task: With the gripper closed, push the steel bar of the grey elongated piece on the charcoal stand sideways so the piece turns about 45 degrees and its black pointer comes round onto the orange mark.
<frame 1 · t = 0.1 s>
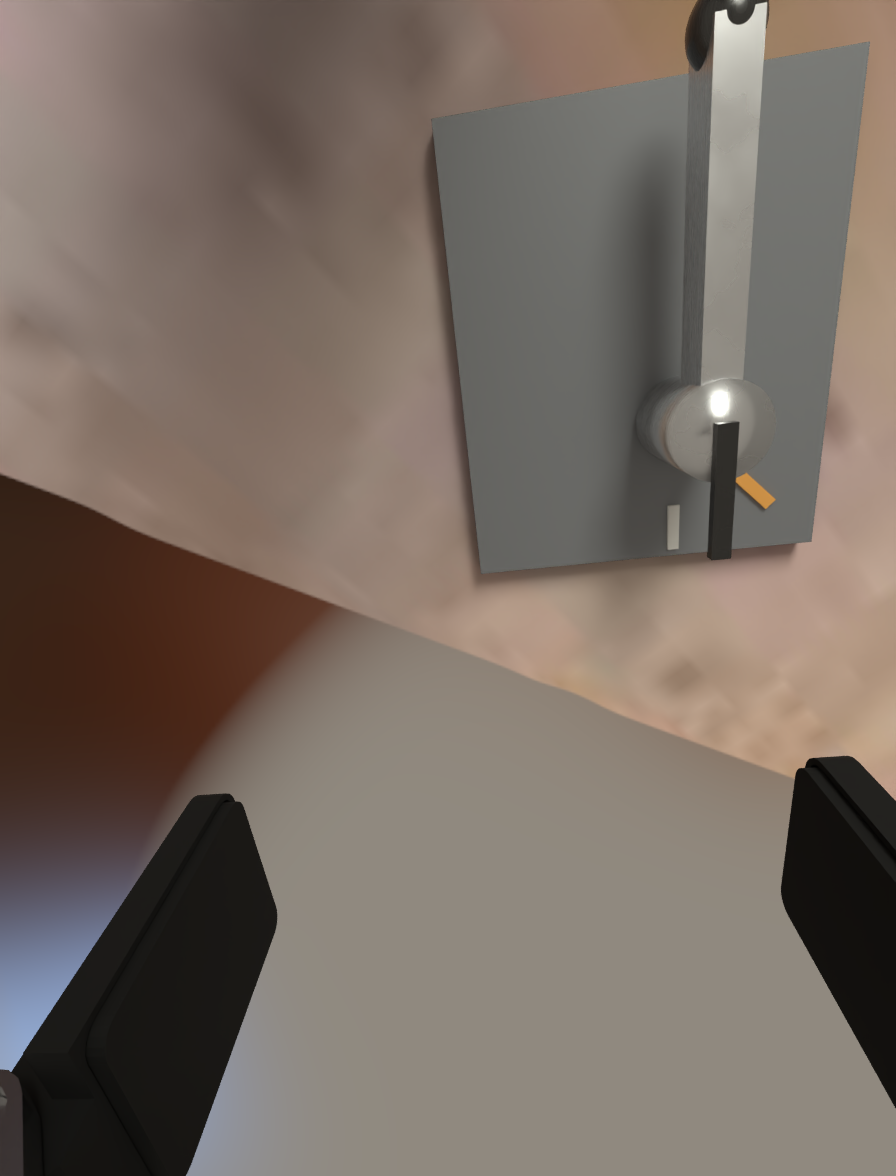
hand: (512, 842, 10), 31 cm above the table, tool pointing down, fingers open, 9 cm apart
grey elongated piece: (704, 309, 29), point 6 cm above the table, hinge at 0.0°
stand plate: (635, 353, 35), on the table
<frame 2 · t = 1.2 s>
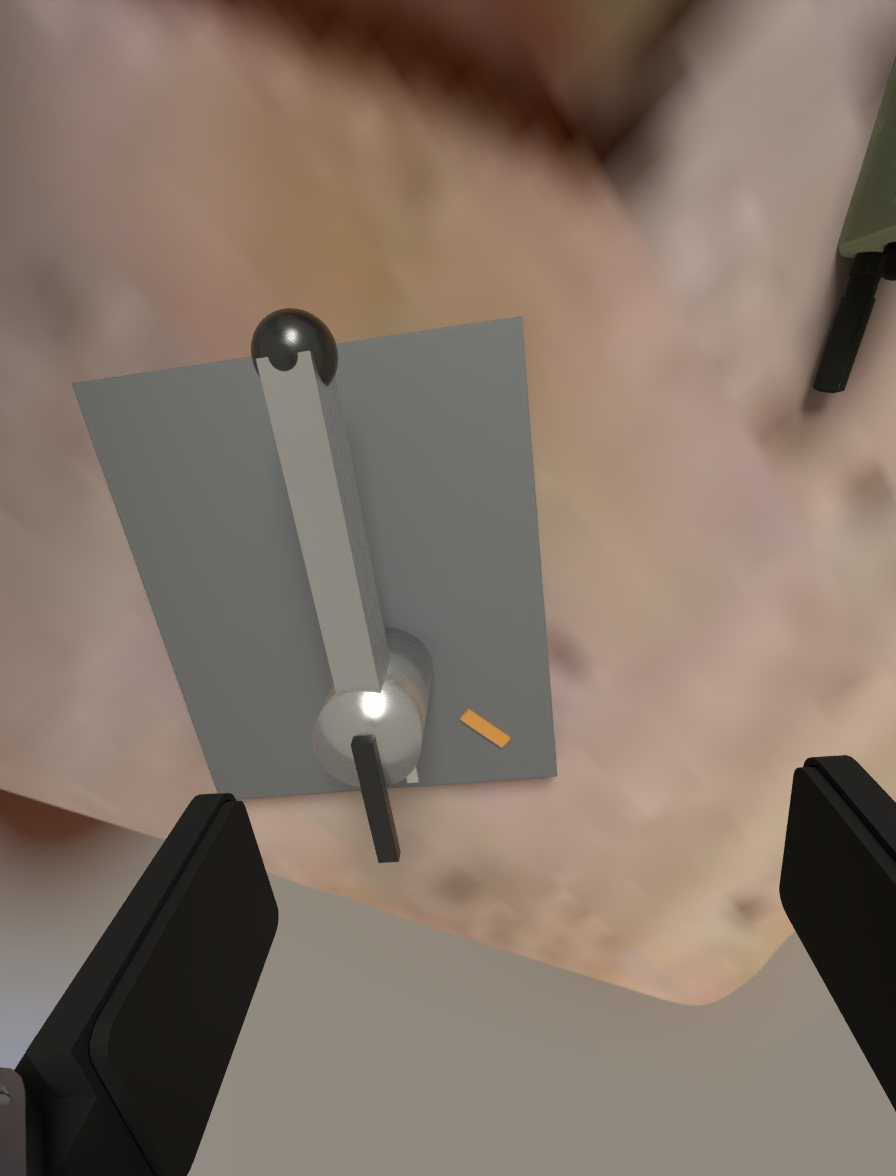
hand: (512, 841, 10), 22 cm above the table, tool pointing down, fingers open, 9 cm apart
grey elongated piece: (356, 600, 26), point 6 cm above the table, hinge at 0.0°
stand plate: (348, 592, 33), on the table
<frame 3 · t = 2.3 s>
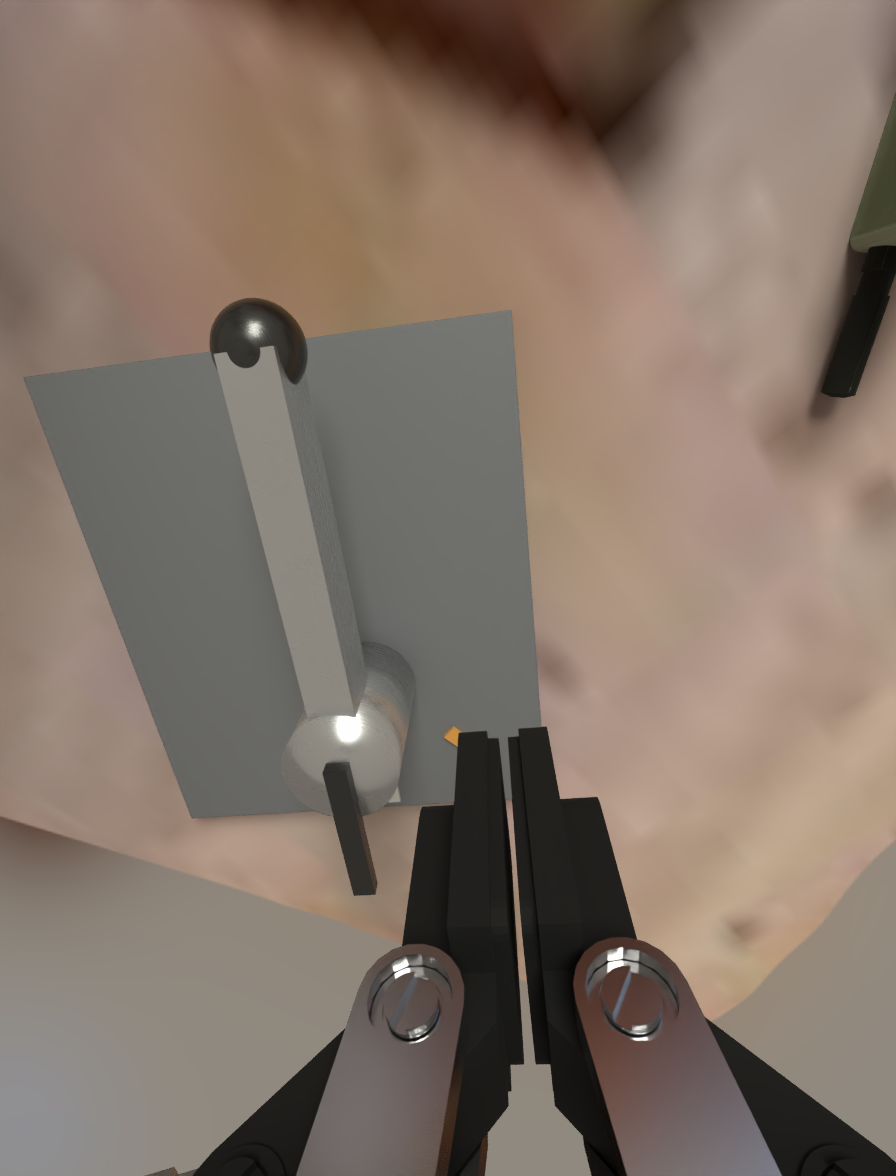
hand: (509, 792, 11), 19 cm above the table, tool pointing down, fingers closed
grey elongated piece: (330, 615, 24), point 6 cm above the table, hinge at 0.0°
stand plate: (326, 603, 31), on the table
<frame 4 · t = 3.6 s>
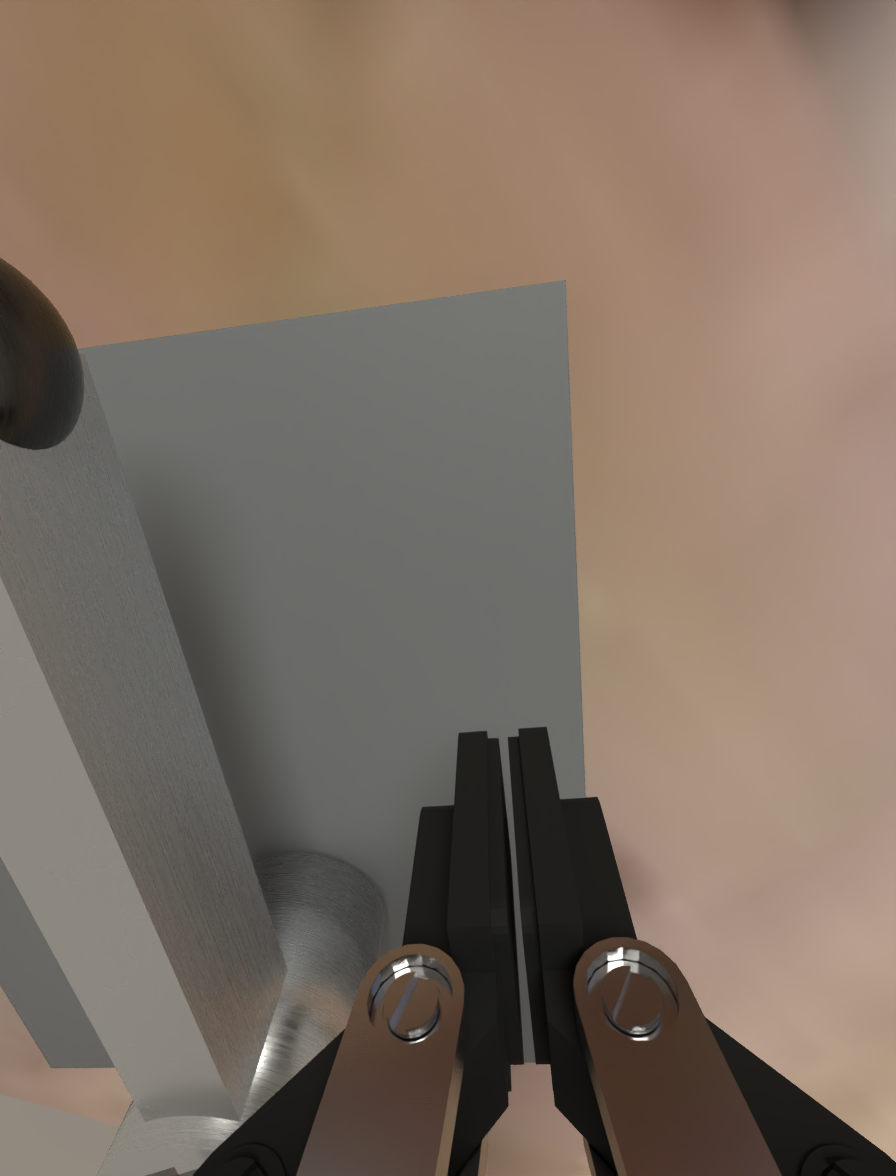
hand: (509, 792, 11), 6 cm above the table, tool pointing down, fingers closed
grey elongated piece: (204, 878, 12), point 6 cm above the table, hinge at 0.0°
stand plate: (241, 772, 19), on the table
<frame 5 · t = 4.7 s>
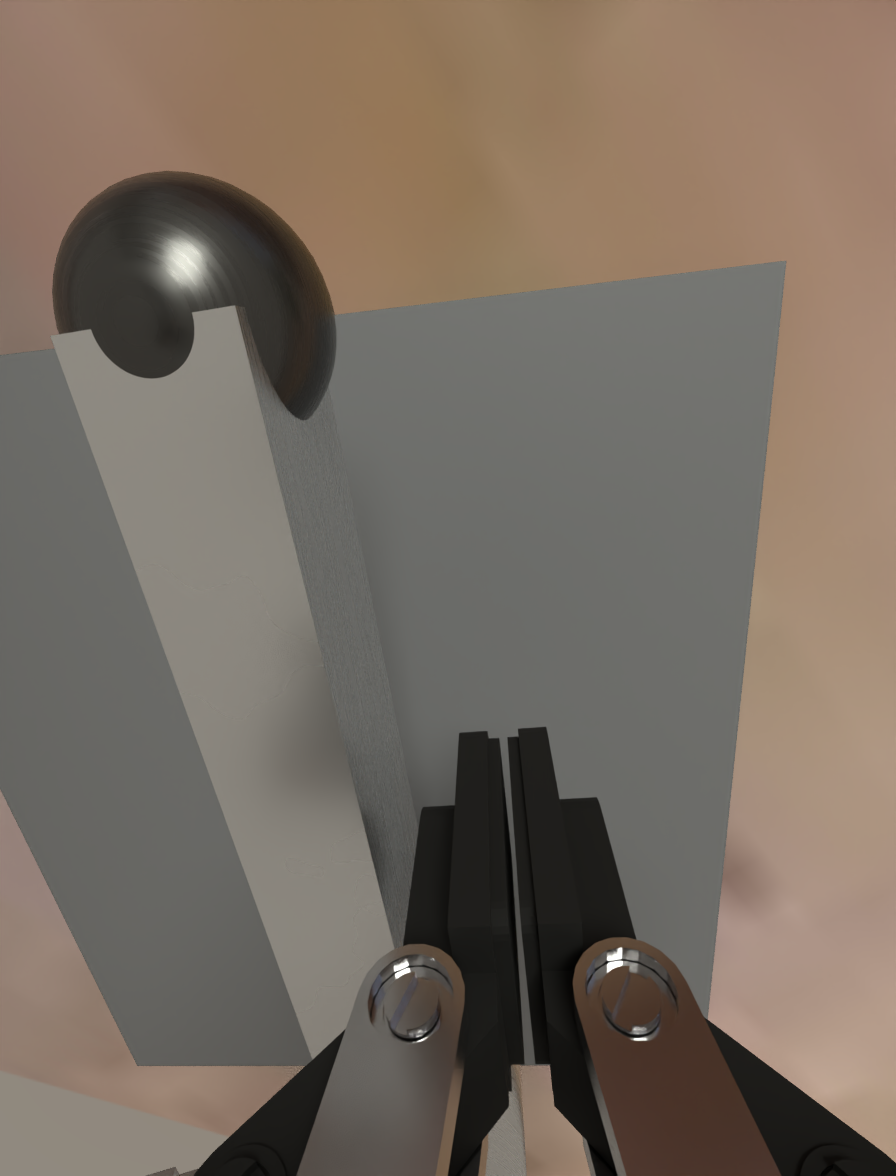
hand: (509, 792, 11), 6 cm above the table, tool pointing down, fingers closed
grey elongated piece: (377, 874, 12), point 6 cm above the table, hinge at 2.0°, touching gripper
stand plate: (361, 766, 18), on the table
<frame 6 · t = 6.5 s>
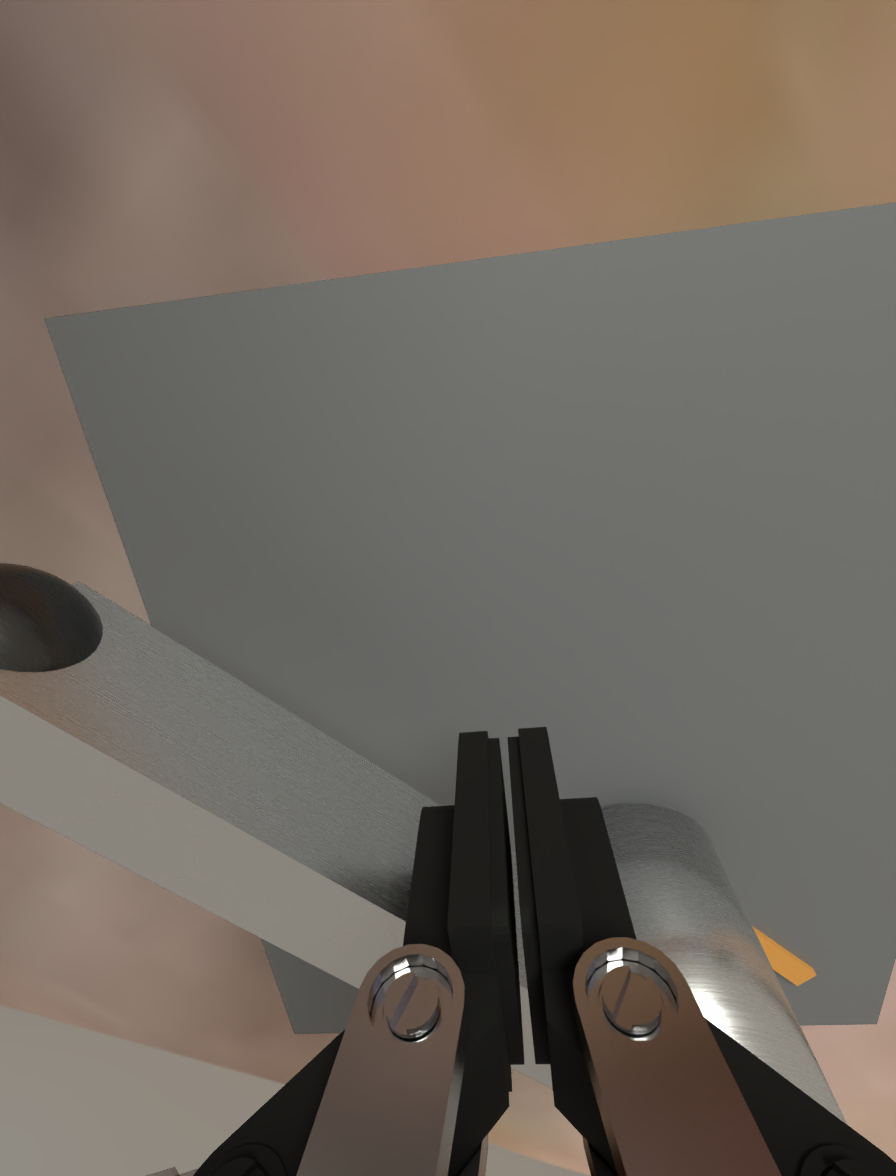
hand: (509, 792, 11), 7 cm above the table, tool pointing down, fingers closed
grey elongated piece: (488, 886, 13), point 6 cm above the table, hinge at 46.5°, touching gripper
stand plate: (553, 724, 18), on the table
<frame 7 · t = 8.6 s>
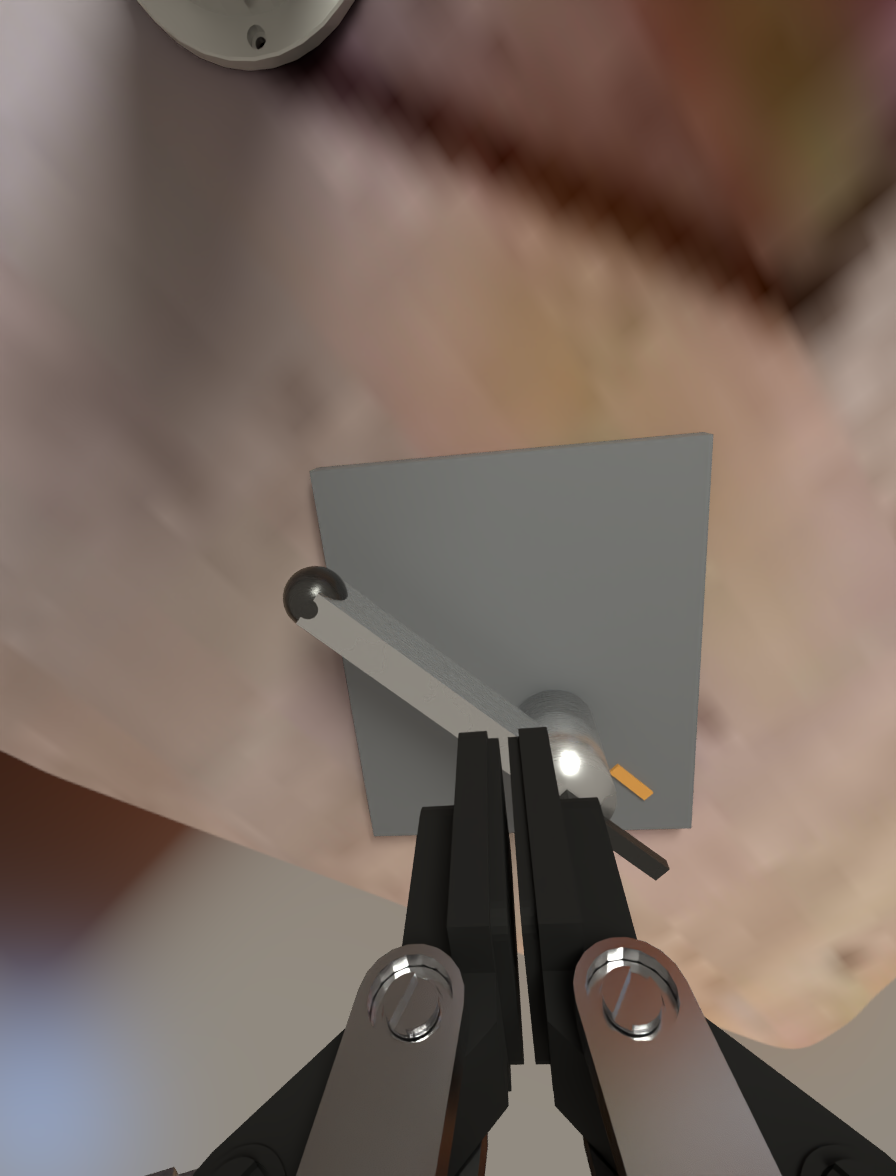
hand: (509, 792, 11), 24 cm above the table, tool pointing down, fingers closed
grey elongated piece: (481, 704, 31), point 6 cm above the table, hinge at 46.6°
stand plate: (516, 655, 36), on the table
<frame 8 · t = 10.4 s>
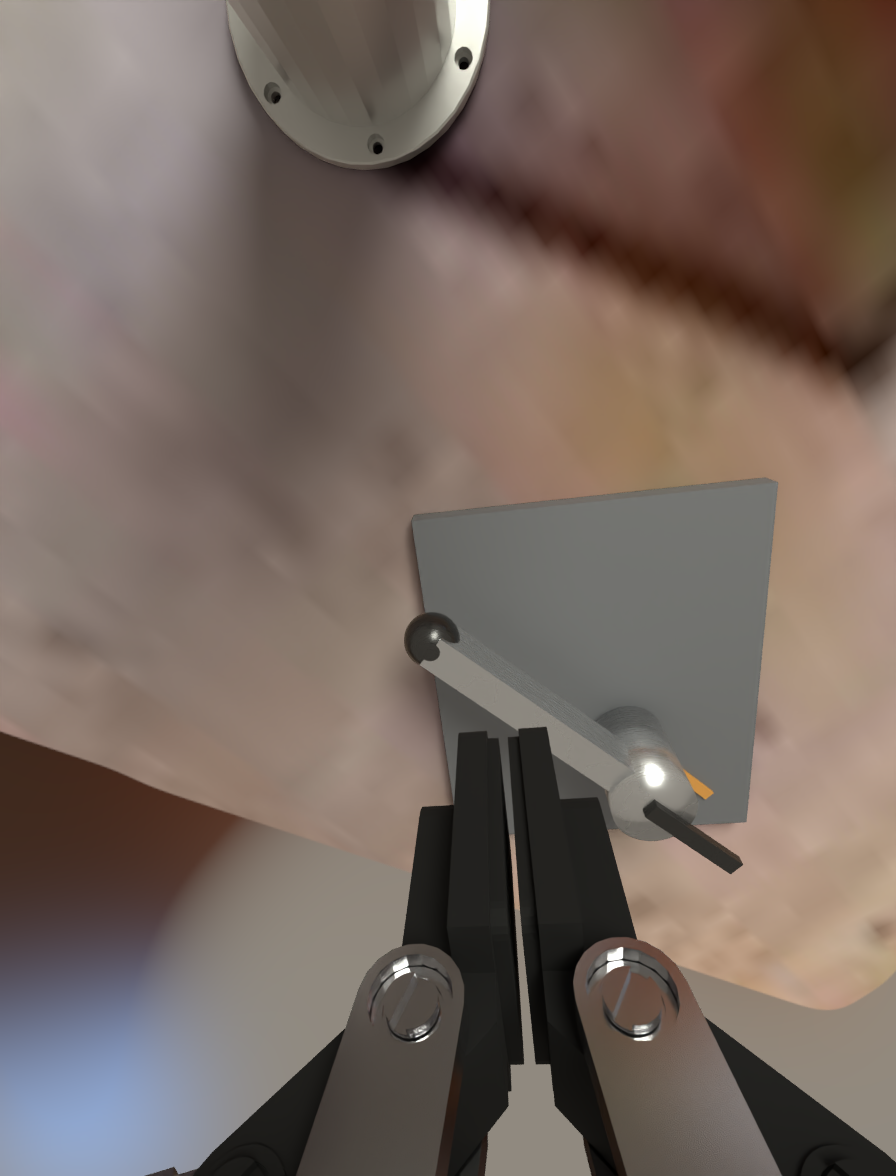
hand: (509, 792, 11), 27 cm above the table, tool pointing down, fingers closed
grey elongated piece: (571, 725, 35), point 6 cm above the table, hinge at 46.6°
stand plate: (590, 674, 40), on the table
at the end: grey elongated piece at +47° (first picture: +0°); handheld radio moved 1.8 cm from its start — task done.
